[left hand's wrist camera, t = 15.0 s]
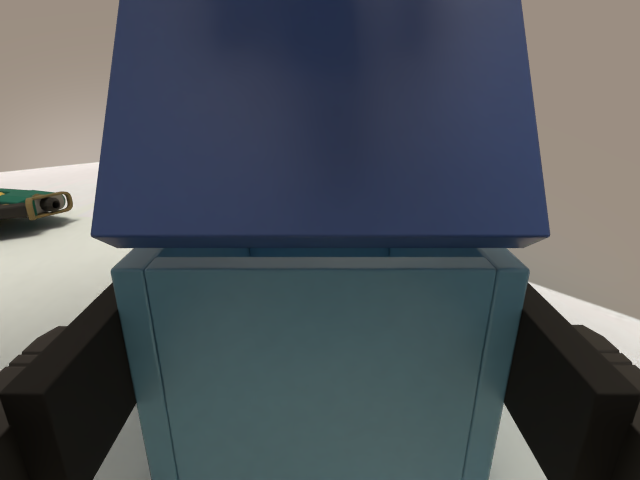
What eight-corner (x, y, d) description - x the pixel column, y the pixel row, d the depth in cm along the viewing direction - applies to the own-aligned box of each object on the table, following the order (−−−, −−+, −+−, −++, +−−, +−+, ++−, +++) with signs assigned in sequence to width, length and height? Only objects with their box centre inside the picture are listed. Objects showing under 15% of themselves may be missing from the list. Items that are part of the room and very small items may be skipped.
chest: (242, 302, 25) (231, 156, 22) (396, 301, 25) (407, 156, 22) (162, 539, 12) (109, 269, 9) (477, 538, 12) (532, 269, 9)
